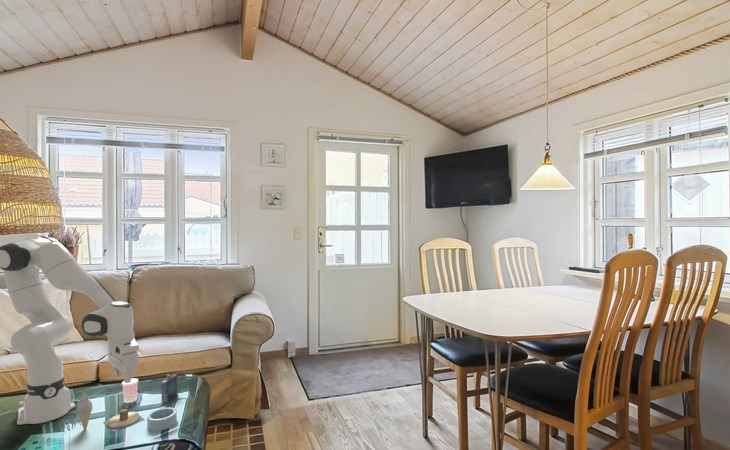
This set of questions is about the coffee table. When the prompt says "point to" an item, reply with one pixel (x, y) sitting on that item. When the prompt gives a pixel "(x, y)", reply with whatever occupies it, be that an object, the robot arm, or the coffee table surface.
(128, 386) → the beverage cup
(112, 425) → the lid
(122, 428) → the mat
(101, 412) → the coffee table surface
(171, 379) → the flask
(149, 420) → the bowl
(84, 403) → the ice cream cone
